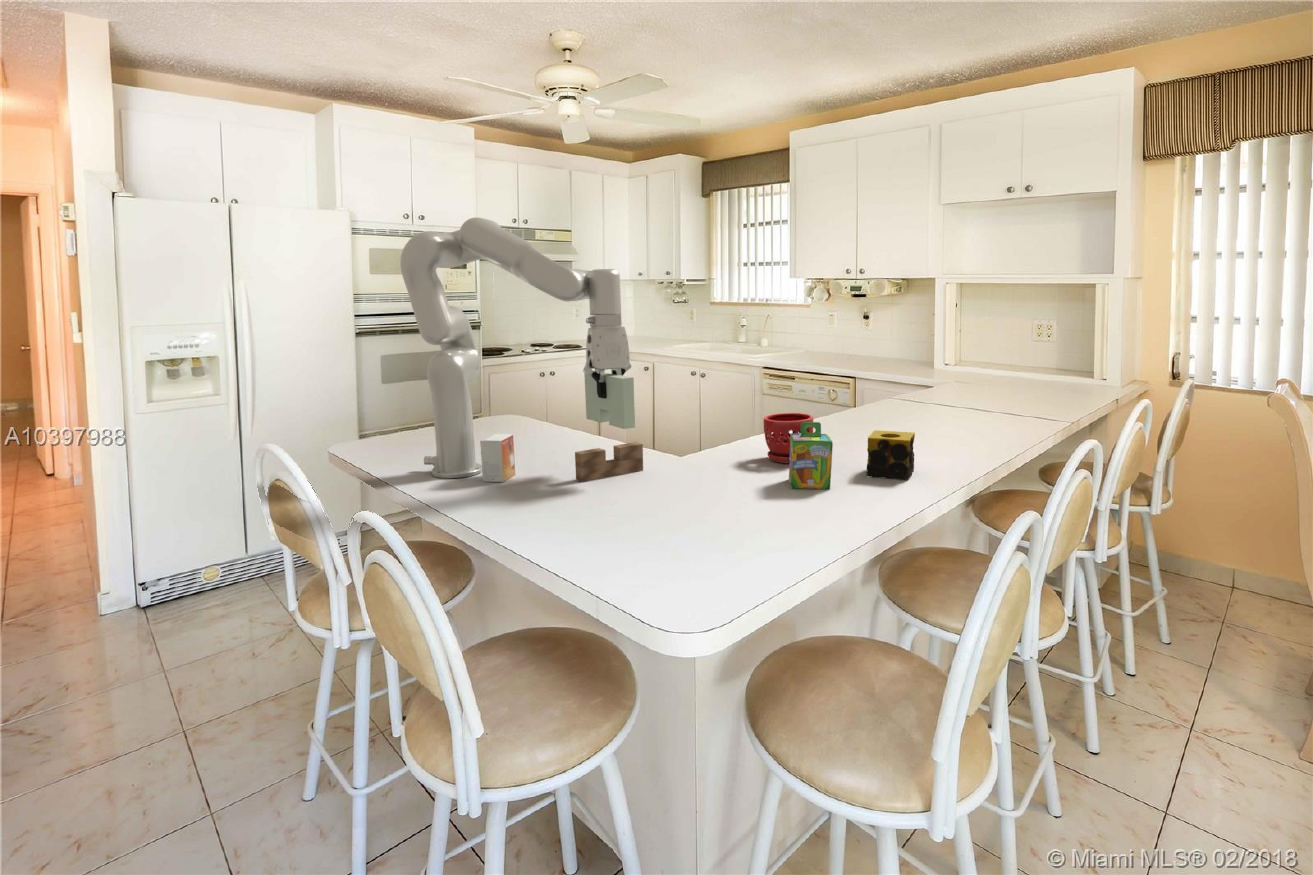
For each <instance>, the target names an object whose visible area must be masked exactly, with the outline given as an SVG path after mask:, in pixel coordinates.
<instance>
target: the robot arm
mask: <svg viewBox="0 0 1313 875" xmlns="http://www.w3.org/2000/svg"><path fill="white" fill-rule="evenodd" d="M479 260H485V261H487V262H489V263H491V264H493V265H495V266H496V267H499V268H501V269H502V270H505V271H506V272H508V273H510V274H512V275H514V276H515V277H516V278H519V279H520V280H522V281H524V282H525V283H527V284H529V285H530V286H532V287H533V288H536V290H538V291H541V292H543V293H546V294H547V295H549V296H551V297H553V298H555V299H557V300H560V301H562V302H579V301H582V300H588V301H589V317H586V318H585V322H586V324H589V327H588V328H587V333H586V334H587V335H586V345H585V346H586V347H585V360H586V361H585V365H584V367H583V370H582V372H583V373H586V374H588V375H590V376H591V377H592V378H593V379H594V380H595V381H596V382H597V394H598V397H599V398H603V399H605V398H607V392H606V382H604V374H605V373H606V372H605V371H607V370H610V374H615V375H621V376H625V374H626V372H628V371H629V370H630V369H631V368H632V364H631V361H630V360H631V358H630V349H629V348H630V346H629V339H628V335H627V330H626V327H625V326H623V325H622V322H623V321H622V298H621V296H622V295H621V277H620V276H621V275H620V272H619V271H618V270H617V269H616V268H615V269H614V268H598V269H597V268H596V269H592V270H586V269H579V268H576V269H575V268H569V267H566V266H564V265H563V264H561V263H558V262H556V261H555V260H553V259H551V258H549V257H548V256H546V255H544V254H542V253H541V252H540V251H538V250H537V249H536V248H535V246H534V245H533V244H532V243H531V242H529V241H527V240H526V239H524V238H521V237H520V236H518V235H515V234H513V233H512V232H509V231H507V230H506V229H503V227H502V226H500V224H499V223H497V222H495V221H494V220H491V219H488V218H482V217H471V218H468V219H467V220H465V221H464V222H463V223H462V225H461V226H460V228H459V229H458V230H455V231H451V232H448V233H446V232H440V231H439V232H438V231H432V230H431V231H429V230H428V231H423V232H418V233H417V234H415V235H414V236H412V237H411V238H410V239H408V241H407V242H406V243H405V245H404V246H403V250H402V252H401V255H400V261H399V262H400V270H401V275H402V280H403V282H404V284H405V287H406V290H407V295H408V298H409V300H410V304H411V308H412V311H413V314H414V318H415V320H416V324H417V328H418V331H419V334H420V336H421V338H422V339H423V340H424V342H426V343H427V344H429V345H431V346H439V347H440V349H441V350H440V351H438V352H436V353H435V354H433V355H432V356H431V358H430V359H429V360H428V363H427V367H426V376H427V381H428V386H429V389H430V393H431V401H432V411H433V412H432V414H433V424H434V434H435V435H434V436H435V437H434V438H435V449H436V455H435V456H431V455H425V456H424V457H423V464H424V465H431V466H433V468H432V469H431V475H432V476H433V477H437V478H440V479H457V478H458V479H459V478H465V477H466V478H467V477H472V476H476V475H478V474H480V473H482V464H480V463H478V462H477V461H476V460H477V459H476V448H475V447H476V446H475V444H476V443H475V431H474V430H475V429H474V418H473V407H472V405H473V403H472V397H471V393H470V390H469V384H468V383H470V382H472V381H474V380H475V379H476V378H477V377H478V376H479V374H480V372H481V368H482V362H481V357H480V352H479V349H478V346H477V343H476V339H475V335H474V332H473V329H472V326H471V324H470V323H471V322H470V320H469V319H468V316H467V315H466V314H465V312H464V311H463V310H461V309H460V308H459V307H456V306H453V305H449V302H448V300H447V296H446V295H447V294H446V292H445V289H444V285H443V283H442V282H441V279H440V278H439V276H438V273H437V269H453V268H457V267H460V266H464V265H467V264H470V263H472V262H476V261H479ZM593 369H594V370H593Z"/></svg>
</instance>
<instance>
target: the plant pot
mask: <svg viewBox="0 0 1313 875" xmlns="http://www.w3.org/2000/svg"><path fill="white" fill-rule="evenodd" d="M802 422H814V417H813V416H812V415H811V414H807V413H800V412H798V413H797V412H786V413H785V412H784V413H773V414H769V415H766V416H764V417H763V434H764V439H765V443H766V446H767V447H768V449H769V451H768V452H767V457H768V458H769V460H771V461H772V462H776V463H781V464H783V465H785V464H790V434H791V433H790V431H791V432H792V433H801V423H802ZM806 431H807V432H808V433H814V427H808V428H807V429H806Z"/></svg>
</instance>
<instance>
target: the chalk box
mask: <svg viewBox="0 0 1313 875" xmlns="http://www.w3.org/2000/svg"><path fill="white" fill-rule="evenodd" d="M808 427H813V429H815V430H814V431H813V433H808V432H807V431H806V429H807V428H808ZM833 445H834V444H833V440H832V439H831V437H830V436H829V435H828V434H827V433H822V424H821V422H819V421H813V422H802V423H801V433H799V432H798V433H793V432H792V433H790V463H788V464H789V467H788V468H789V469H788V470H789V471H788V481H789V485H790V488H791V489H804V490H805V489H806V490H807V489H808V490H810V489H811V490H826V489H827V490H831V479H832V463H833V462H832V461H833Z"/></svg>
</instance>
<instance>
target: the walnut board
mask: <svg viewBox="0 0 1313 875" xmlns="http://www.w3.org/2000/svg"><path fill="white" fill-rule="evenodd" d="M643 444H644V443H641V442H638V441H636V442H635V441H634V442H628V443H627V442H626V443H622V444H617V445H616V444H615V445H613V459H606V452H607V451H606V449H603V448H600V447H598V448H592V449H584V450H579V451H575V452H574V462H575V480H576V481H577V482H580V483H586V482H590V481H596V480H602V479H606V478H612V477H618V476H622V475H627V474H631V473H633V474H634V473H637V472H643V471H644V448H643V447H644V445H643Z"/></svg>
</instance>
